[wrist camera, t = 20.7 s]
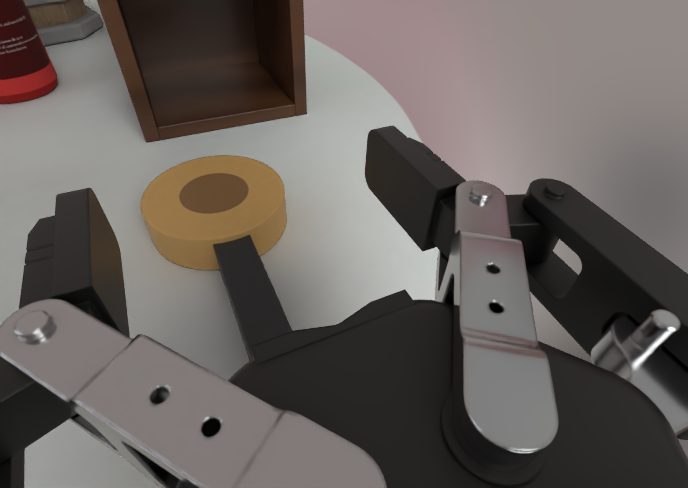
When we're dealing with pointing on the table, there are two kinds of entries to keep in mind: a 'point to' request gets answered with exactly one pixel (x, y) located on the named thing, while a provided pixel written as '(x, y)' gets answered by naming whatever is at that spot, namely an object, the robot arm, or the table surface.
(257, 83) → the wooden cabinet
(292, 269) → the table surface
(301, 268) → the table surface
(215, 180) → the disc with black handle
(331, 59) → the table surface
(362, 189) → the table surface
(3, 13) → the canned food
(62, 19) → the tankard
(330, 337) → the robot arm
